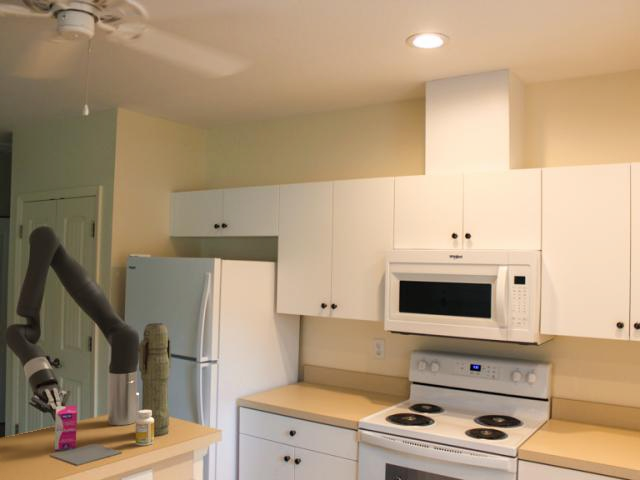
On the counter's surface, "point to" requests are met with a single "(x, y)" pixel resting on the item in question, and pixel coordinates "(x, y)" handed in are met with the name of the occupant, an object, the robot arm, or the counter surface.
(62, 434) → the supplement box
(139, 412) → the supplement bottle
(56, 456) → the rubber mat
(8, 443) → the counter surface
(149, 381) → the thermos
